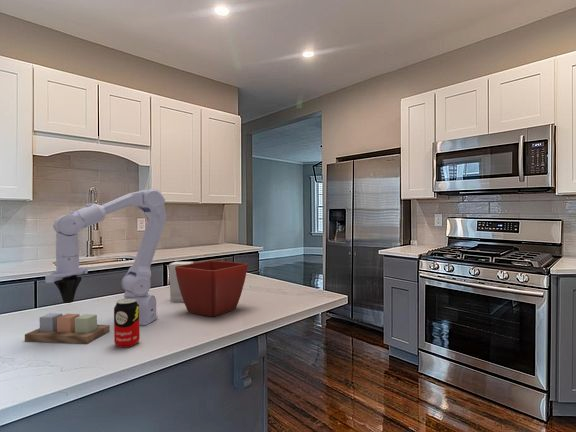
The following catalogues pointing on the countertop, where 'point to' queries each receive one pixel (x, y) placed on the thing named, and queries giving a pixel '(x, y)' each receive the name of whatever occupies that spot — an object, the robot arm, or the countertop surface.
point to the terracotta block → (66, 323)
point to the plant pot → (211, 286)
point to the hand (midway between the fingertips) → (68, 302)
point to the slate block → (49, 322)
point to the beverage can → (126, 322)
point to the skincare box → (175, 282)
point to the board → (67, 336)
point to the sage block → (85, 323)
